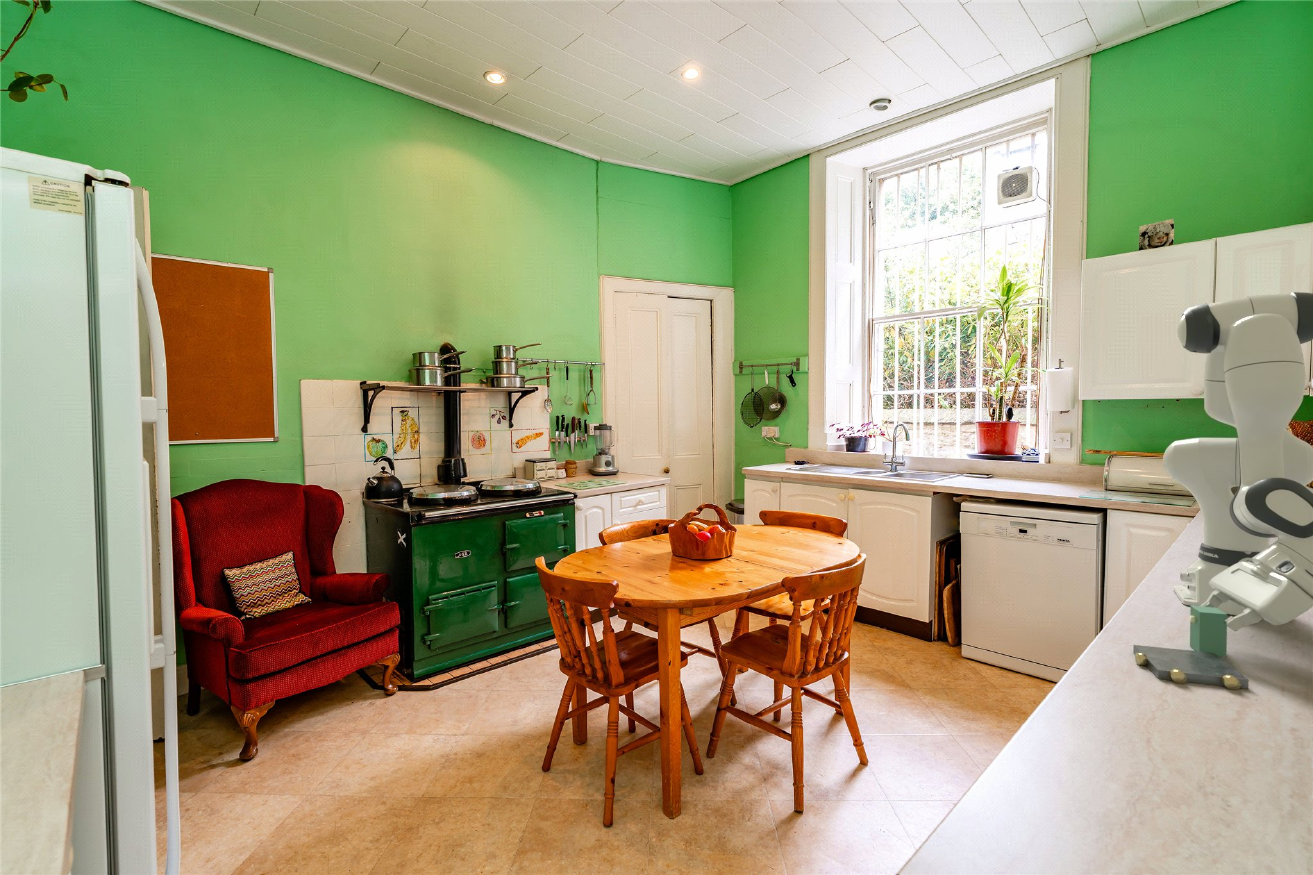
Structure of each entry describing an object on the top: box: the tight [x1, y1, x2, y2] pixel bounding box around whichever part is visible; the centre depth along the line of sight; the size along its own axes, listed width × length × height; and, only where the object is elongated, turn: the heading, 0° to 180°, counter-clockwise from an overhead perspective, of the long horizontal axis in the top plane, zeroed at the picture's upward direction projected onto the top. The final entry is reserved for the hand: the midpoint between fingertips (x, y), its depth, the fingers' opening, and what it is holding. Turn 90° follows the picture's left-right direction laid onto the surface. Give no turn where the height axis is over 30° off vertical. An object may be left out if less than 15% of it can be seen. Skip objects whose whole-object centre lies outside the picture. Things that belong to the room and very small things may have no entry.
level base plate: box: [1132, 644, 1249, 691], centre depth 108 cm, size 13×13×2 cm
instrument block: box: [1189, 605, 1228, 658], centre depth 116 cm, size 4×5×8 cm
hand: (1216, 618), depth 115 cm, fingers open, 8 cm apart
